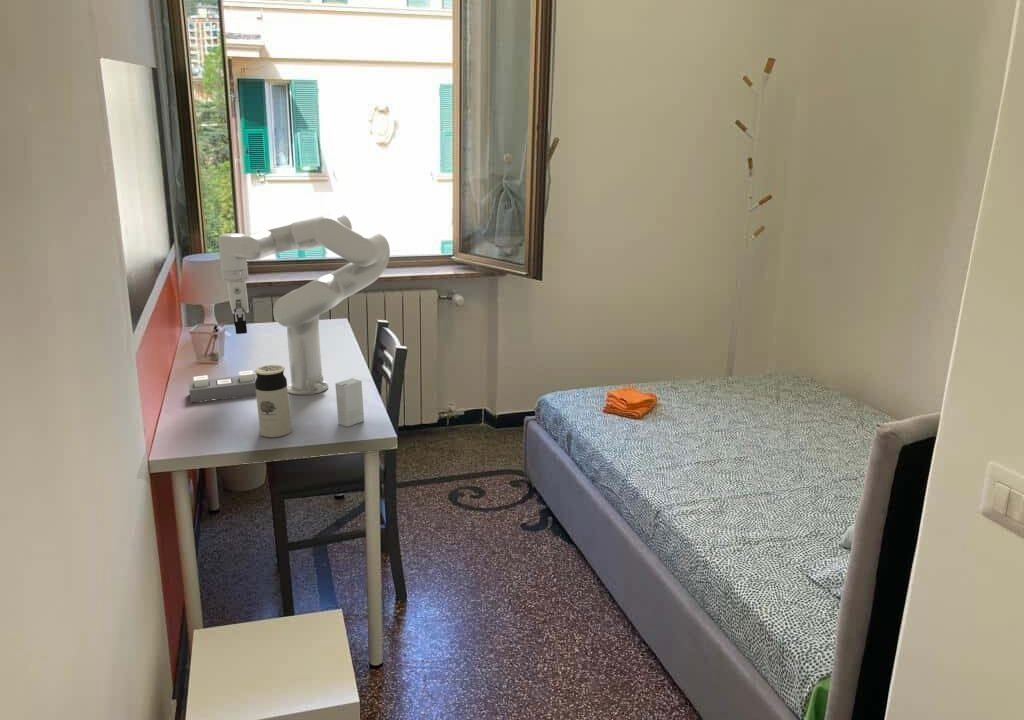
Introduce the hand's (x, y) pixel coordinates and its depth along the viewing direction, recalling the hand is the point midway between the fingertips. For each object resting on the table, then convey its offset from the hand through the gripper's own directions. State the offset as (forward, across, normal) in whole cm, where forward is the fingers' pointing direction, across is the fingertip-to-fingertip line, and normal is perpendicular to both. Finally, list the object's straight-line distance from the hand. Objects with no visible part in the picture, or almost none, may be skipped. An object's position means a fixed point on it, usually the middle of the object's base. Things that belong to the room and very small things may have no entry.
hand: (240, 329), depth 240 cm
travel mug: (+19, -43, -5) cm, 47 cm away
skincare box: (+19, -43, -26) cm, 54 cm away
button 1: (+15, -6, +13) cm, 21 cm away
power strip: (+19, -5, +6) cm, 20 cm away
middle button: (+17, -5, +6) cm, 19 cm away
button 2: (+15, -5, 0) cm, 16 cm away
